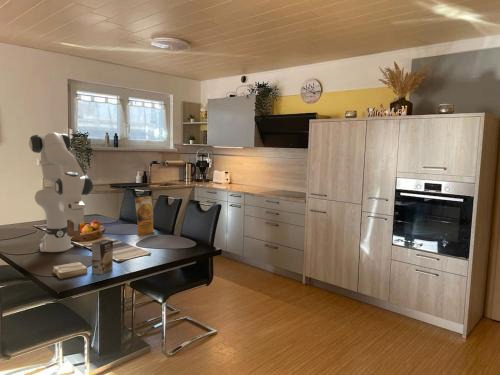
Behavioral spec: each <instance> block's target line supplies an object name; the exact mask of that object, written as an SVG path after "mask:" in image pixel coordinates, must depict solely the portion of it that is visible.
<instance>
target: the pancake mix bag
mask: <svg viewBox="0 0 500 375" xmlns="http://www.w3.org/2000/svg"><path fill="white" fill-rule="evenodd" d="M134 204H135V214H136V217H137V233H136V235H137V236H144V235H149V234H152V233H154V207H153V199H152V196H151V195H147V196H139V197H135V198H134Z"/></svg>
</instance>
